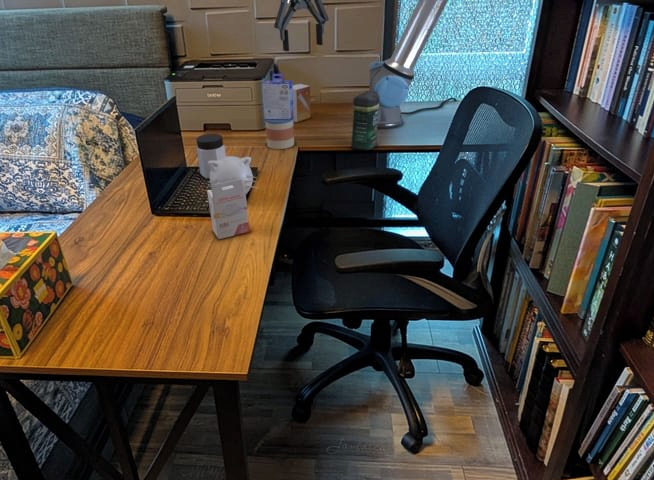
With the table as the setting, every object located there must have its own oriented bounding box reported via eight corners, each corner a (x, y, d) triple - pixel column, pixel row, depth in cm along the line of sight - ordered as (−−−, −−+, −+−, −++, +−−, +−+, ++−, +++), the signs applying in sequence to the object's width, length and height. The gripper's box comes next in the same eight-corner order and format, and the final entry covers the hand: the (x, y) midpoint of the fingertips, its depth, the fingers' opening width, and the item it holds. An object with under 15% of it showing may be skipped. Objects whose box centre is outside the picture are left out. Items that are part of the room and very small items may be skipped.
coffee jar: (369, 152, 171) (372, 97, 161) (348, 149, 175) (349, 95, 165) (380, 144, 178) (383, 90, 168) (359, 141, 182) (361, 88, 171)
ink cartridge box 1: (243, 224, 132) (238, 171, 124) (250, 232, 128) (244, 178, 120) (212, 231, 129) (204, 178, 121) (218, 240, 125) (210, 185, 117)
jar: (229, 168, 165) (225, 132, 158) (226, 178, 158) (222, 141, 151) (202, 169, 165) (197, 133, 159) (198, 179, 158) (192, 142, 152)
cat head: (256, 185, 152) (252, 146, 146) (261, 203, 141) (258, 162, 135) (206, 191, 150) (201, 152, 144) (208, 209, 140) (202, 168, 133)
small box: (297, 122, 203) (296, 89, 196) (286, 119, 207) (285, 87, 200) (311, 117, 208) (310, 85, 201) (300, 115, 212) (299, 83, 205)
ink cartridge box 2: (294, 115, 178) (292, 72, 170) (291, 120, 174) (289, 76, 166) (267, 115, 180) (264, 72, 172) (263, 119, 176) (260, 76, 168)
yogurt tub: (286, 137, 188) (285, 111, 183) (300, 145, 181) (299, 118, 175) (261, 143, 184) (259, 116, 179) (274, 151, 177) (273, 123, 171)
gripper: (325, -28, 168) (326, 41, 180) (260, -20, 158) (266, 52, 170) (338, -28, 162) (339, 43, 174) (271, -20, 153) (277, 54, 164)
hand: (303, 47), depth 172 cm, fingers open, 13 cm apart
